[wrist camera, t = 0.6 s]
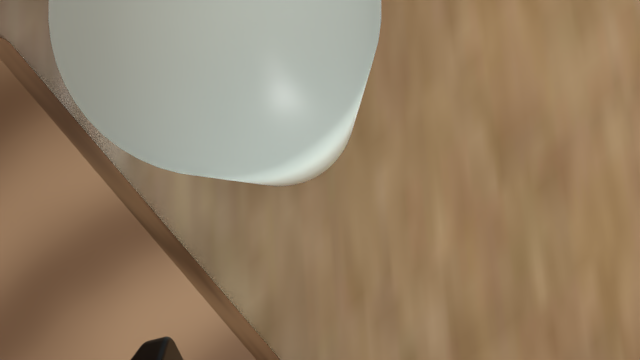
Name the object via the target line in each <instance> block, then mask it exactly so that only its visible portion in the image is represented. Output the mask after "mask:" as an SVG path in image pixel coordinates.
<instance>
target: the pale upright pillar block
mask: <svg viewBox="0 0 640 360" xmlns="http://www.w3.org/2000/svg"><path fill="white" fill-rule="evenodd" d="M48 21H49V30H50V39H51V44H52V48H53V52H54V56H55V60H56V64H57V66H58V69H59V71H60V74H61V77H62V79H63V82H64V84H65V86H66V87H67V89H68V91H69V93H70V95H71V96H72V98H73V100H74V102H75V103H76V104H77V106H78V107H79V108H80V110H81V111H82V112H83V114H84V115H85V117H86V118H87V119H88V120H89V121H90V122H91V123H92V124H93V125H94V126H95V127H96V128H97V129H98V130H99V131H100V133H101V134H102V135H104V136H105V137H106V138H107V139H109V140H110V141H111V142H113V143H114V144H115V145H116V146H118V147H119V148H120V149H122V150H124V151H126V152H127V153H129V154H131V155H132V156H134V157H136V158H137V159H139V160H142V161H144V162H147V163H149V164H151V165H154V166H156V167H158V168H162V169H166V170H169V171H173V172H176V173H181V174H188V175H195V176H203V177H210V178H217V179H225V180H232V181H240V182H247V183H255V184H262V185H269V186H291V185H296V184H300V183H304V182H306V181H309V180H311V179H313V178H315V177H317V176H319V175H320V174H322V173H323V172H325V171H326V170H327V169H329V168H330V167H331V166H332V165H333V164H334V163H335V162H336V160H337V159H338V158H339V157H340V155H341V154H342V152H343V151H344V149H345V147H346V146H347V143H348V141H349V139H350V136H351V133H352V129H353V126H354V123H355V119H356V116H357V113H358V109H359V106H360V103H361V99H362V96H363V93H364V89H365V86H366V83H367V79H368V76H369V73H370V69H371V66H372V62H373V59H374V55H375V51H376V48H377V44H378V39H379V32H380V24H381V0H49V17H48Z"/></svg>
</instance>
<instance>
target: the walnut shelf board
mask: <svg viewBox="0 0 640 360" xmlns="http://www.w3.org/2000/svg"><path fill="white" fill-rule="evenodd" d="M166 336H167V337H171V338H172V339H173V340H174V342H175V344H176V346H177V348H178V350H179V352H180V354H181V356H182V358H183V360H280V359H279V358H278V357H277V356H276V355H275V353H274V352H273V351H272V350H271V349H270V348H269V346H268V345H267V344H266V343H265V342H264V340H263V339H262V338H261V337H260V336H259V335H258V333H257V332H256V331H255V330H254V329H253V328H252V326H251V325H250V324H249V323H248V322H247V321H246V319H245V318H244V317H243V316H242V315H241V314H240V312H239V311H238V310H237V309H236V308H235V306H234V305H233V304H232V303H231V302H230V301H229V299H228V298H227V297H226V296H225V295H224V294H223V292H222V291H221V290H220V289H219V288H218V287H217V285H216V284H215V283H214V282H213V281H212V280H211V278H210V277H209V276H208V275H207V274H206V272H205V271H204V270H203V269H202V268H201V267H200V265H199V264H198V263H197V262H196V261H195V260H194V258H193V257H192V256H191V255H190V254H189V253H188V251H187V250H186V249H185V248H184V247H183V246H182V244H181V243H180V242H179V241H178V240H177V238H176V237H175V236H174V235H173V234H172V233H171V231H170V230H169V229H168V228H167V227H166V226H165V224H164V223H163V222H162V221H161V220H160V219H159V217H158V216H157V215H156V214H155V213H154V212H153V210H152V209H151V208H150V207H149V206H148V204H147V203H146V202H145V201H144V200H143V199H142V197H141V196H140V195H139V194H138V193H137V192H136V190H135V189H134V188H133V187H132V186H131V185H130V183H129V182H128V181H127V180H126V179H125V178H124V176H123V175H122V174H121V173H120V172H119V170H118V169H117V168H116V167H115V166H114V165H113V163H112V162H111V161H110V160H109V159H108V158H107V156H106V155H105V154H104V153H103V152H102V151H101V149H100V148H99V147H98V146H97V145H96V144H95V142H94V141H93V140H92V139H91V138H90V136H89V135H88V134H87V133H86V132H85V131H84V129H83V128H82V127H81V126H80V125H79V124H78V122H77V121H76V120H75V119H74V118H73V117H72V115H71V114H70V113H69V112H68V111H67V110H66V108H65V107H64V106H63V105H62V104H61V102H60V101H59V100H58V99H57V98H56V97H55V95H54V94H53V93H52V92H51V91H50V90H49V88H48V87H47V86H46V85H45V84H44V83H43V81H42V80H41V79H40V78H39V77H38V76H37V74H36V73H35V72H34V71H33V70H32V68H31V67H30V66H29V65H28V64H27V63H26V61H25V60H24V59H23V58H22V57H21V56H20V54H19V53H18V52H17V51H16V50H15V49H14V47H13V46H12V45H11V44H10V43H9V42H8V41H6V40H4V39H2V38H0V360H131V358H132V357H133V356H134V354H135V353H136V352H137V350H138V349H139V348H140V346H141V345H142V344H143V343H144V342H146V341H149V340H153V339H157V338H161V337H166Z"/></svg>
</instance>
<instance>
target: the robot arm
mask: <svg viewBox="0 0 640 360" xmlns="http://www.w3.org/2000/svg"><path fill="white" fill-rule="evenodd" d="M131 360H183V358H182V356H181V354H180V352H179V350H178V348H177V346H176V344H175V342H174V340H173V339H172V338H171V337H167V336H166V337H161V338H157V339H153V340H149V341H146V342H144V343H143V344H142V345H141V346H140V348H139V349H138V350H137V352H136V353H135V354H134V356H133V357H132V358H131Z"/></svg>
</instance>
